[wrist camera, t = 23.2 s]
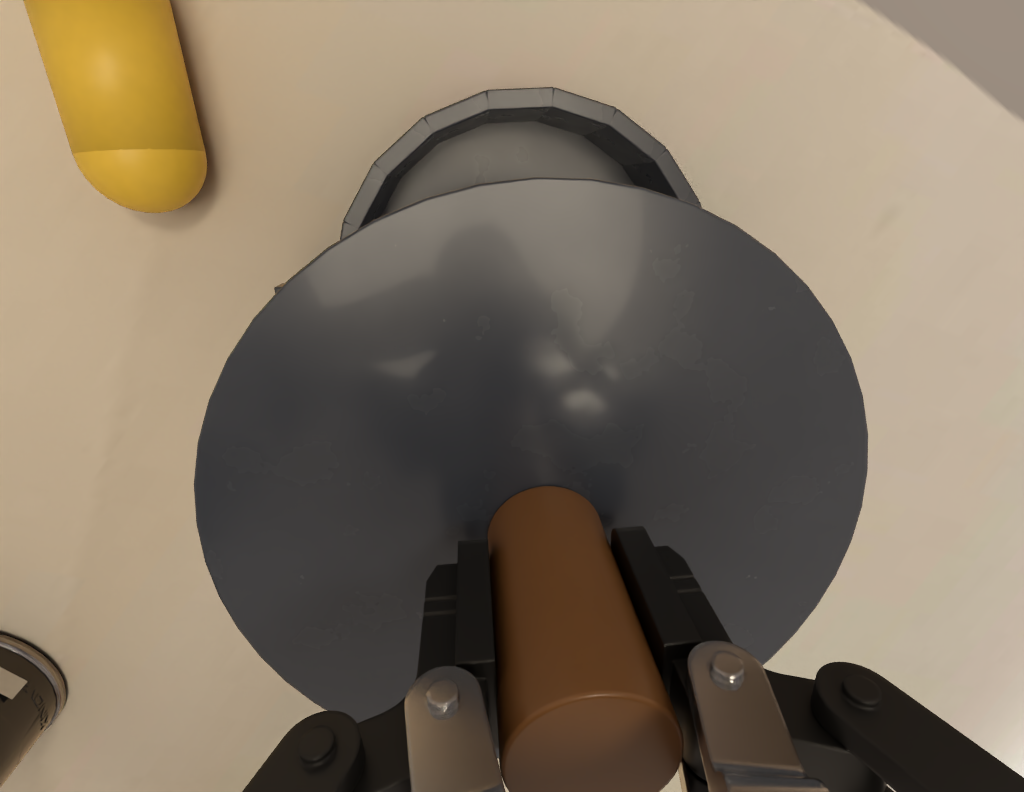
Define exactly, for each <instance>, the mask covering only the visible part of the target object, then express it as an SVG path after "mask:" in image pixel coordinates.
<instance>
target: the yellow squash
mask: <svg viewBox="0 0 1024 792" xmlns="http://www.w3.org/2000/svg"><path fill="white" fill-rule="evenodd" d="M23 1H24V4H25V7H26V10H27V13H28V16H29V19H30V23H31V26H32V29H33V32H34V35H35V38H36V41H37V44H38V47H39V51H40V54H41V57H42V60H43V63H44V66H45V69H46V72H47V76H48V79H49V82H50V85H51V88H52V91H53V94H54V97H55V101H56V104H57V107H58V110H59V113H60V116H61V119H62V122H63V126H64V129H65V132H66V135H67V138H68V141H69V144H70V147H71V151H72V154H73V156H74V158H75V161H76V163H77V165H78V167H79V169H80V170H81V172H82V173H83V175H84V176H85V178H86V179H87V180H88V181H89V182H90V183H91V185H92V186H93V187H94V188H95V189H96V190H98V191H99V192H100V193H101V194H103V195H104V196H105V197H107V198H108V199H110V200H112V201H113V202H115V203H117V204H119V205H121V206H124V207H126V208H129V209H132V210H136V211H141V212H146V213H161V212H168V211H172V210H175V209H178V208H180V207H182V206H184V205H185V204H187V203H189V202H190V201H191V200H192V199H193V198H194V197H195V196H196V195H197V194H198V193H199V191H200V189H201V188H202V186H203V184H204V180H205V177H206V172H207V159H206V152H205V148H204V144H203V139H202V135H201V131H200V127H199V123H198V118H197V114H196V110H195V106H194V101H193V97H192V93H191V89H190V84H189V80H188V76H187V72H186V68H185V63H184V59H183V55H182V51H181V46H180V42H179V38H178V34H177V30H176V25H175V21H174V17H173V13H172V8H171V4H170V0H23Z"/></svg>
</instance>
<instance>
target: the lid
mask: <svg viewBox="0 0 1024 792" xmlns="http://www.w3.org/2000/svg"><path fill="white" fill-rule="evenodd" d="M867 464H868V431H867V423H866V416H865V409H864V402H863V395H862V392H861V389H860V386H859V382H858V379H857V376H856V373H855V369H854V366H853V363H852V359H851V357H850V355H849V353H848V351H847V349H846V347H845V345H844V343H843V341H842V339H841V337H840V335H839V333H838V331H837V329H836V327H835V325H834V323H833V321H832V319H831V318H830V316H829V315H828V314H827V312H826V311H825V309H824V308H823V307H822V305H821V304H820V302H819V301H818V300H817V298H816V297H815V296H814V294H813V293H812V291H811V290H810V289H809V287H808V286H807V285H806V284H805V283H804V282H803V281H802V280H801V279H800V278H799V277H798V276H797V275H796V274H795V273H794V272H793V271H792V270H791V269H790V268H789V267H788V266H787V265H786V264H785V263H784V262H783V261H782V260H781V259H780V258H779V257H778V256H777V255H776V254H775V253H774V252H772V251H771V250H770V249H768V248H767V247H765V246H764V245H763V244H761V243H760V242H759V241H757V240H756V239H754V238H753V237H752V236H750V235H749V234H747V233H746V232H745V231H743V230H742V229H740V228H739V227H738V226H736V225H734V224H732V223H730V222H728V221H726V220H724V219H722V218H720V217H718V216H716V215H714V214H712V213H710V212H708V211H706V210H704V209H702V208H700V207H698V206H696V205H694V204H692V203H689V202H686V201H683V200H680V199H677V198H674V197H671V196H668V195H665V194H662V193H659V192H656V191H653V190H650V189H647V188H643V187H638V186H632V185H626V184H620V183H614V182H608V181H602V180H597V179H591V178H552V177H530V178H522V179H513V180H505V181H496V182H488V183H480V184H476V185H472V186H468V187H464V188H460V189H457V190H453V191H449V192H445V193H442V194H438V195H434V196H430V197H426V198H424V199H422V200H419V201H417V202H415V203H412V204H410V205H408V206H405V207H403V208H400V209H398V210H396V211H393V212H391V213H389V214H386V215H384V216H381V217H379V218H377V219H374V220H373V221H371V222H369V223H368V224H366V225H364V226H363V227H361V228H359V229H358V230H356V231H354V232H353V233H351V234H349V235H348V236H346V237H345V238H343V239H341V240H340V241H338V242H336V243H335V244H333V245H331V246H330V247H328V248H327V249H325V250H324V251H323V252H322V253H321V254H319V255H318V256H317V257H316V258H315V259H313V260H312V261H311V262H310V263H308V264H307V265H306V266H305V267H304V268H302V269H301V270H300V271H299V272H298V273H296V274H295V275H294V276H293V277H291V278H290V279H289V280H288V281H287V282H286V283H285V284H284V285H283V286H282V287H281V289H280V290H279V291H278V292H277V293H276V294H275V295H274V296H273V297H272V299H271V300H270V301H269V302H268V303H267V304H266V305H265V306H264V307H263V309H262V310H261V311H260V312H259V313H258V314H257V315H256V316H255V317H254V319H253V320H252V322H251V323H250V325H249V326H248V328H247V329H246V331H245V333H244V334H243V336H242V337H241V339H240V340H239V342H238V343H237V345H236V346H235V348H234V349H233V351H232V352H231V354H230V356H229V357H228V359H227V361H226V363H225V365H224V368H223V370H222V372H221V374H220V377H219V379H218V381H217V383H216V386H215V388H214V390H213V392H212V395H211V397H210V399H209V402H208V406H207V410H206V414H205V417H204V421H203V425H202V429H201V433H200V436H199V440H198V447H197V458H196V468H195V479H194V492H195V507H196V522H197V528H198V532H199V536H200V541H201V545H202V549H203V554H204V558H205V562H206V565H207V567H208V570H209V572H210V575H211V577H212V580H213V582H214V585H215V587H216V589H217V592H218V594H219V597H220V599H221V600H222V602H223V604H224V605H225V607H226V609H227V611H228V612H229V614H230V616H231V617H232V619H233V621H234V622H235V624H236V626H237V628H238V629H239V630H240V632H241V633H242V634H243V635H244V637H245V638H246V639H247V640H248V642H249V643H250V644H251V645H252V647H253V648H254V649H255V650H256V652H257V653H258V654H259V656H260V657H261V658H262V659H263V660H264V661H265V662H266V663H267V664H268V665H270V666H271V667H272V668H273V669H274V670H275V671H276V672H277V673H278V674H279V675H280V676H281V677H282V678H283V679H284V680H285V681H286V682H287V683H289V684H290V685H291V686H293V687H294V688H295V689H297V690H298V691H299V692H301V693H302V694H303V695H305V696H306V697H307V698H309V699H310V700H311V701H313V702H314V703H315V704H317V705H319V706H321V707H322V708H324V709H326V710H327V711H340V712H344V713H346V714H348V715H350V716H351V717H352V718H353V719H354V720H355V721H356V722H357V723H359V722H362V721H364V720H367V719H369V718H371V717H374V716H376V715H379V714H381V713H383V712H385V711H387V710H389V709H391V708H392V707H394V706H395V705H397V704H398V703H399V702H400V701H401V700H402V699H403V698H404V697H405V696H406V694H407V692H408V690H409V688H410V687H411V685H412V684H413V683H414V681H415V679H416V676H417V670H418V660H419V650H420V640H421V630H422V621H423V611H424V602H425V591H426V581H427V580H428V578H429V576H430V575H431V573H432V572H433V570H434V569H435V567H436V566H437V565H443V564H454V563H457V561H458V541H466V540H478V539H488V546H489V560H490V577H491V594H492V611H493V628H494V645H495V662H496V679H497V725H498V743H499V749H495V751H496V755H497V758H499V762H500V771H501V776H502V778H503V781H504V783H505V785H506V787H507V789H508V790H509V792H660V791H661V790H662V789H663V788H664V787H665V786H666V785H667V784H668V783H669V782H670V780H671V779H672V778H673V776H674V775H675V773H676V772H677V770H678V768H679V766H680V763H681V761H682V757H683V752H684V737H683V732H682V729H681V726H680V724H679V721H678V719H677V716H676V713H675V711H674V708H673V706H672V703H671V701H670V698H669V695H668V693H667V690H666V688H665V685H664V683H663V680H662V678H661V675H660V672H659V670H658V667H657V665H656V662H655V660H654V657H653V654H652V652H651V649H650V647H649V644H648V642H647V639H646V636H645V634H644V631H643V629H642V626H641V624H640V621H639V618H638V616H637V613H636V611H635V608H634V606H633V603H632V600H631V598H630V595H629V593H628V590H627V588H626V585H625V582H624V580H623V577H622V575H621V572H620V570H619V567H618V564H617V562H616V559H615V557H614V554H613V552H612V549H611V532H612V529H614V528H626V527H638V526H643V527H644V528H645V529H646V531H647V533H648V535H649V537H650V539H651V541H652V543H653V545H654V547H657V546H669V547H670V548H672V549H673V550H674V551H675V552H676V553H678V554H679V555H680V556H681V557H683V558H684V559H685V561H686V563H687V564H688V566H689V568H690V570H691V571H692V573H693V575H694V579H695V578H696V580H697V582H698V584H699V585H700V587H701V590H702V592H704V594H705V596H706V598H707V599H708V601H709V603H710V605H711V606H712V608H713V610H714V612H715V613H716V615H717V617H718V619H719V620H720V622H721V624H722V625H723V627H724V629H725V631H726V632H727V634H728V636H729V638H730V639H731V641H732V643H733V644H735V645H738V646H740V647H742V648H743V649H745V650H747V651H748V652H750V653H751V654H752V655H753V656H754V657H755V658H756V659H757V660H758V661H759V662H760V663H761V665H764V664H765V663H766V662H767V661H768V660H770V659H771V658H772V657H773V656H774V655H775V654H776V653H777V652H778V651H779V650H780V649H781V647H782V646H783V645H784V644H785V643H786V642H787V641H788V640H789V639H790V638H791V637H792V636H793V635H794V634H795V633H796V632H797V631H798V629H799V628H800V627H801V625H802V624H803V623H804V622H805V620H806V619H807V618H808V616H809V615H810V614H811V613H812V611H813V610H814V609H815V608H816V606H817V605H818V603H819V602H820V600H821V598H822V597H823V595H824V593H825V592H826V590H827V589H828V587H829V585H830V584H831V582H832V580H833V579H834V577H835V576H836V574H837V571H838V569H839V567H840V565H841V563H842V560H843V558H844V556H845V554H846V552H847V549H848V547H849V545H850V543H851V540H852V537H853V534H854V530H855V527H856V524H857V521H858V517H859V514H860V511H861V508H862V501H863V495H864V489H865V483H866V477H867Z"/></svg>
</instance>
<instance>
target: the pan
mask: <svg viewBox="0 0 1024 792" xmlns="http://www.w3.org/2000/svg"><path fill="white" fill-rule="evenodd" d="M530 177H552V178H591V179H597V180H602V181H608V182H614V183H620V184H626V185H632V186H638V187H643V188H647V189H650V190H653V191H656V192H659V193H662V194H665V195H668V196H671V197H674V198H677V199H680V200H683V201H686V202H689V203H692V204H694V205H696V206H698V207H700V208H701V204H700V202H699V199H698V198H697V196H696V195H695V193H694V191H693V190H692V188H691V186H690V185H689V183H688V182H687V180H686V178H685V177H684V175H683V173H682V172H681V170H680V169H679V167H678V165H677V164H676V162H675V160H674V159H673V157H672V156H671V154H670V152H669V151H668V150H667V149H666V147H665V146H664V145H662V144H661V143H660V142H659V141H657V140H656V139H655V138H654V137H652V136H651V135H650V134H649V133H647V132H646V131H645V130H644V129H642V128H641V127H640V126H639V125H637V124H636V123H635V122H634V121H632V120H631V119H630V118H629V117H627V116H626V115H625V114H624V113H622V112H621V111H620V110H619V109H616V108H615V107H613V106H610V105H607V104H604V103H601V102H598V101H595V100H591V99H588V98H585V97H582V96H579V95H576V94H573V93H570V92H567V91H564V90H561V89H558V88H553V87H543V88H520V89H496V90H487V91H483V92H480V93H478V94H475V95H473V96H471V97H468V98H466V99H464V100H461V101H459V102H457V103H454V104H452V105H449V106H447V107H445V108H442V109H440V110H438V111H435V112H433V113H430V114H428V115H426V116H425V117H422V118H421V119H420V120H419V121H418V122H417V123H416V124H415V125H413V126H412V127H411V128H410V129H409V130H408V131H407V132H406V133H405V134H404V135H403V136H402V137H401V138H399V139H398V140H397V141H396V142H395V143H394V144H393V145H392V146H391V147H390V148H389V149H388V150H387V151H385V152H384V153H383V154H382V155H381V156H380V157H379V158H378V159H377V160H376V161H375V162H374V163H373V165H372V166H371V168H370V170H369V172H368V174H367V176H366V178H365V180H364V182H363V184H362V185H361V187H360V189H359V191H358V193H357V195H356V197H355V199H354V201H353V203H352V205H351V206H350V208H349V210H348V212H347V214H346V216H345V218H344V222H343V224H342V230H341V237H340V240H341V239H343V238H345V237H346V236H348V235H349V234H351V233H353V232H354V231H356V230H358V229H359V228H361V227H363V226H364V225H366V224H368V223H369V222H371V221H373V220H374V219H377V218H379V217H381V216H384V215H386V214H389V213H391V212H393V211H396V210H398V209H400V208H403V207H405V206H408V205H410V204H412V203H415V202H417V201H419V200H422V199H424V198H426V197H430V196H434V195H438V194H442V193H445V192H449V191H453V190H457V189H460V188H464V187H468V186H472V185H476V184H480V183H488V182H496V181H505V180H513V179H522V178H530ZM284 284H285V283H283V284H280V285H278V286H277V287H275V288H274V290H275V294H276V293H277V292H278V291H279V290H280V289H281V287H282V286H283V285H284Z"/></svg>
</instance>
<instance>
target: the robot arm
mask: <svg viewBox="0 0 1024 792" xmlns="http://www.w3.org/2000/svg"><path fill="white" fill-rule="evenodd" d="M611 549H612V552H613V554H614V557H615V559H616V562H617V564H618V567H619V570H620V572H621V575H622V577H623V580H624V582H625V585H626V588H627V590H628V593H629V595H630V598H631V600H632V603H633V606H634V608H635V611H636V613H637V616H638V618H639V621H640V624H641V626H642V629H643V631H644V634H645V636H646V639H647V642H648V644H649V647H650V649H651V652H652V654H653V657H654V660H655V662H656V665H657V667H658V670H659V672H660V675H661V678H662V680H663V683H664V685H665V688H666V690H667V693H668V695H669V698H670V701H671V703H672V706H673V708H674V711H675V713H676V716H677V719H678V721H679V724H680V726H681V729H682V732H683V737H684V752H683V757H682V761H681V763H680V766H679V768H678V772H679V778H680V783H681V789H682V792H893V791H892V790H891V789H890V788H889V787H888V786H887V784H888V785H889V786H890V787H892V788H893V789H894V790H895V791H896V792H1024V778H1023V777H1022V776H1020V775H1019V774H1017V773H1016V772H1015V771H1013V770H1012V769H1011V768H1009V767H1008V766H1006V765H1005V764H1004V763H1002V762H1001V761H999V760H998V759H997V758H995V757H994V756H992V755H991V754H990V753H988V752H987V751H985V750H984V749H983V748H981V747H980V746H978V745H977V744H976V743H974V742H973V741H971V740H970V739H969V738H967V737H966V736H964V735H963V734H962V733H960V732H959V731H957V730H956V729H955V728H953V727H952V726H950V725H949V724H948V723H946V722H945V721H943V720H942V719H941V718H939V717H938V716H936V715H935V714H934V713H932V712H931V711H929V710H928V709H927V708H925V707H924V706H922V705H921V704H920V703H918V702H917V701H915V700H914V699H913V698H911V697H910V696H909V695H907V694H906V693H904V692H903V691H902V690H900V689H899V688H897V687H896V686H895V685H893V684H892V683H890V682H889V681H888V680H886V679H885V678H883V677H882V676H880V675H879V674H877V673H875V672H873V671H872V670H870V669H867V668H865V667H862V666H860V665H856V664H852V663H847V662H833V663H829V664H826V665H824V666H823V667H821V668H820V669H819V671H818V672H817V675H816V678H815V680H812V679H806V678H801V677H795V676H790V675H784V674H780V673H775V672H772V671H769V670H766V669H764V668H763V666H762V665H761V663H760V662H759V661H758V660H757V659H756V658H755V657H754V656H753V655H752V654H751V653H750V652H748V651H747V650H745V649H743V648H742V647H740V646H738V645H735V644H733V643H732V641H731V639H730V638H729V636H728V634H727V632H726V631H725V629H724V627H723V625H722V624H721V622H720V620H719V619H718V617H717V615H716V613H715V612H714V610H713V608H712V606H711V605H710V603H709V601H708V599H707V598H706V596H705V594H704V592H702V590H701V587H700V585H699V584H698V582H697V580H696V578H695V579H694V575H693V573H692V571H691V570H690V568H689V566H688V564H687V563H686V561H685V559H684V558H683V557H681V556H680V555H679V554H678V553H676V552H675V551H674V550H673V549H672V548H670V547H669V546H657V547H654V545H653V543H652V541H651V539H650V537H649V535H648V533H647V531H646V529H645V528H644V527H643V526H638V527H626V528H614V529H612V532H611ZM65 699H66V689H65V684H64V681H63V679H62V677H61V675H60V673H59V672H58V670H57V669H56V667H55V666H54V665H53V664H52V663H51V662H50V661H49V660H48V659H47V658H46V657H45V656H44V655H42V654H41V653H40V652H38V651H37V650H35V649H34V648H32V647H31V646H29V645H27V644H25V643H23V642H21V641H19V640H16V639H14V638H11V637H9V636H6V635H2V634H0V788H1V786H2V785H3V784H4V782H5V781H6V780H7V779H8V777H9V776H10V775H11V773H12V772H13V771H14V770H15V768H16V767H17V766H18V764H19V763H20V762H21V760H22V759H23V758H24V756H25V755H26V754H27V753H28V751H29V750H30V749H31V747H32V746H33V745H34V743H35V742H36V741H37V739H38V738H39V737H40V736H41V734H42V733H43V732H44V731H45V730H46V729H47V728H48V727H49V726H50V725H51V724H52V723H53V721H54V720H55V719H56V717H57V716H58V715H59V713H60V712H61V711H62V709H63V707H64V704H65ZM495 749H499V743H498V725H497V679H496V662H495V645H494V628H493V611H492V594H491V577H490V560H489V546H488V539H478V540H466V541H458V561H457V563H454V564H443V565H437V566H436V567H435V569H434V570H433V572H432V573H431V575H430V576H429V578H428V580H427V581H426V591H425V602H424V611H423V621H422V630H421V640H420V650H419V660H418V670H417V676H416V679H415V681H414V683H413V684H412V685H411V687H410V688H409V690H408V692H407V694H406V696H405V697H404V698H403V699H402V700H401V701H400V702H399V703H398V704H397V705H395V706H394V707H392V708H391V709H389V710H387V711H385V712H383V713H381V714H379V715H376V716H374V717H371V718H369V719H367V720H364V721H362V722H359V723H357V722H356V721H355V720H354V719H353V718H352V717H351V716H350V715H348V714H346V713H344V712H340V711H323V712H319V713H316V714H313V715H311V716H309V717H307V718H305V719H303V720H302V721H300V722H299V723H298V724H296V725H295V726H294V727H293V728H292V729H291V730H290V731H289V732H288V733H287V734H286V735H285V736H284V738H283V739H282V740H281V742H280V743H279V744H278V746H277V747H276V748H275V749H274V751H273V752H272V753H271V755H270V756H269V757H268V759H267V760H266V761H265V763H264V764H263V765H262V767H261V768H260V769H259V770H258V772H257V773H256V774H255V776H254V777H253V778H252V780H251V781H250V782H249V784H248V785H247V786H246V788H245V789H244V790H243V792H505V789H504V785H503V781H502V777H501V772H500V768H499V764H498V760H497V755H496V751H495Z"/></svg>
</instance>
